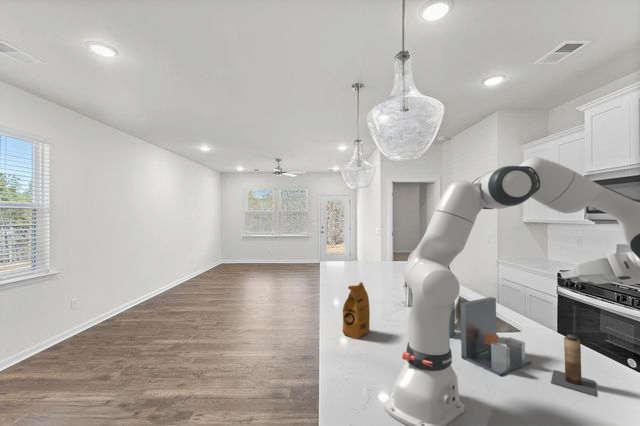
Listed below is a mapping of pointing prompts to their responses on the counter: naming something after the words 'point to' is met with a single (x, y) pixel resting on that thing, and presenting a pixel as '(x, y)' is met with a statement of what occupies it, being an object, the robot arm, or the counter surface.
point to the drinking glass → (452, 323)
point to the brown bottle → (572, 359)
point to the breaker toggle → (490, 340)
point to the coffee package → (356, 312)
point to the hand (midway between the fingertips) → (566, 278)
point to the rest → (585, 387)
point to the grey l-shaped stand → (474, 326)
